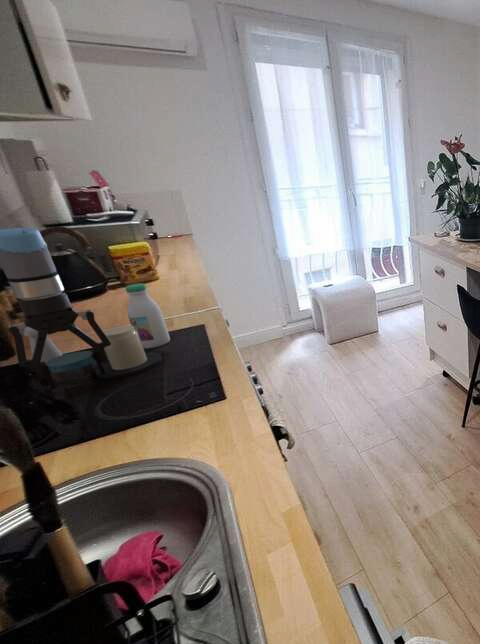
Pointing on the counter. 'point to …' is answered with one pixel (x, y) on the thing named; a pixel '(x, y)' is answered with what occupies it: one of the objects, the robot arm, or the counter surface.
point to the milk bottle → (146, 317)
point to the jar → (124, 348)
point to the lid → (70, 361)
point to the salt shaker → (49, 348)
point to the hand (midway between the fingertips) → (79, 379)
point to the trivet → (151, 361)
